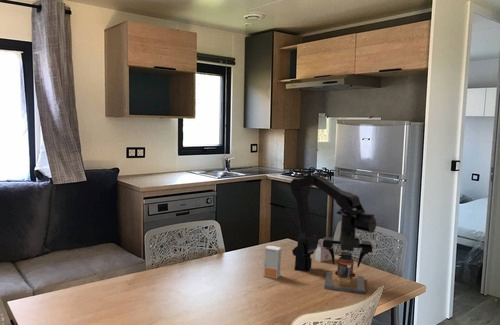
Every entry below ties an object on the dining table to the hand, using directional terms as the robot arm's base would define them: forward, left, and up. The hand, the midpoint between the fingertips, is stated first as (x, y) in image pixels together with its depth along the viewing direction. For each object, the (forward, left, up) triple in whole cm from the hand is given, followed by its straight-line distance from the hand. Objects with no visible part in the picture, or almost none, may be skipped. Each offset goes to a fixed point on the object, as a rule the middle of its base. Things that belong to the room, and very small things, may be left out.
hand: (345, 265), depth 158 cm
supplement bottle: (0, 0, -6) cm, 7 cm away
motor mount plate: (0, 0, -8) cm, 8 cm away
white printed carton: (-10, +26, -8) cm, 29 cm away
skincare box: (-29, -2, -8) cm, 30 cm away
